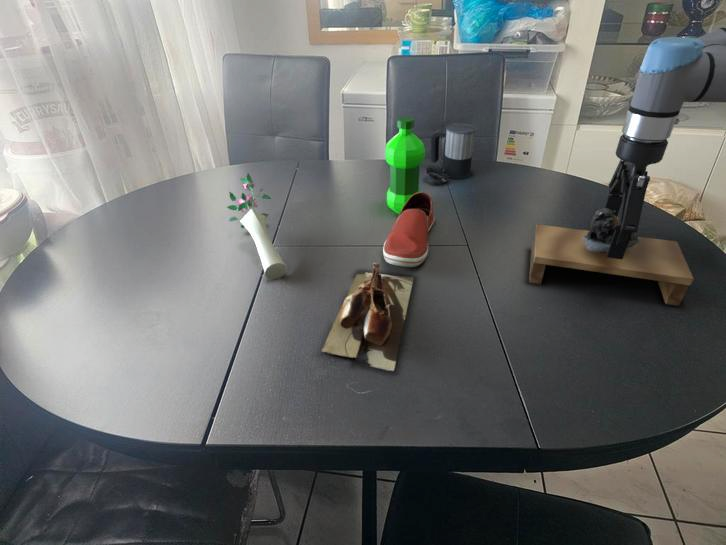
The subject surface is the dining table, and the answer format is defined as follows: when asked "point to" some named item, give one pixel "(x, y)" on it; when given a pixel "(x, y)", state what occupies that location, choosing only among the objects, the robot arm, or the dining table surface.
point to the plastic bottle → (403, 164)
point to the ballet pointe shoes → (371, 318)
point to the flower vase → (258, 231)
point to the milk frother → (452, 152)
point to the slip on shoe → (410, 232)
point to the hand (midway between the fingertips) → (610, 240)
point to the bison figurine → (604, 231)
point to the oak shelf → (612, 260)
